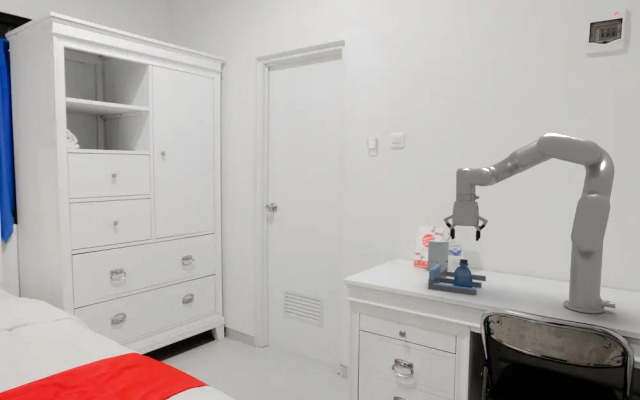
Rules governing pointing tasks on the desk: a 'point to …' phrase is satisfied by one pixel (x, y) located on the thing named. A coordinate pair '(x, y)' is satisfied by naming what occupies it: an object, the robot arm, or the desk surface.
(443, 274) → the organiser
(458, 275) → the perfume bottle
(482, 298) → the desk surface
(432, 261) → the skincare box
